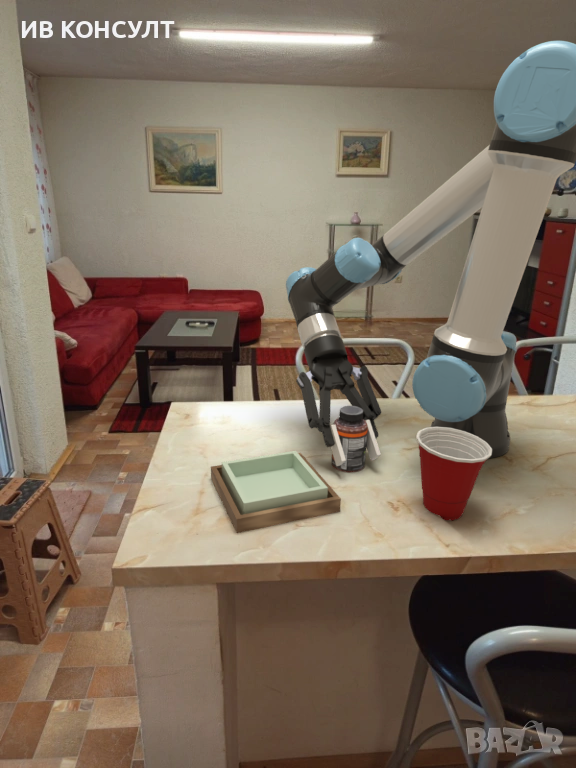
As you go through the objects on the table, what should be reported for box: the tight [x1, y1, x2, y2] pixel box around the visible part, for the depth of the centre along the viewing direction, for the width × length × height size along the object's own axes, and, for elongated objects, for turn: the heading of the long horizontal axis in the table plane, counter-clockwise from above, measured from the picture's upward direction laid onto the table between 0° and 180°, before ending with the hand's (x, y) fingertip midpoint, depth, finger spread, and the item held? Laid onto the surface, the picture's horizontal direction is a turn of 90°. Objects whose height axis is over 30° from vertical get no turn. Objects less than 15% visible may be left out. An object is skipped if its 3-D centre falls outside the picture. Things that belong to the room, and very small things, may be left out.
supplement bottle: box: [330, 405, 368, 473], centre depth 89 cm, size 6×6×11 cm
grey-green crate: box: [221, 450, 328, 515], centre depth 81 cm, size 13×13×4 cm
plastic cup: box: [415, 426, 492, 521], centre depth 77 cm, size 11×11×12 cm
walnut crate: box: [210, 452, 342, 534], centre depth 81 cm, size 16×16×3 cm
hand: (358, 460), depth 87 cm, fingers closed on supplement bottle, 6 cm apart
